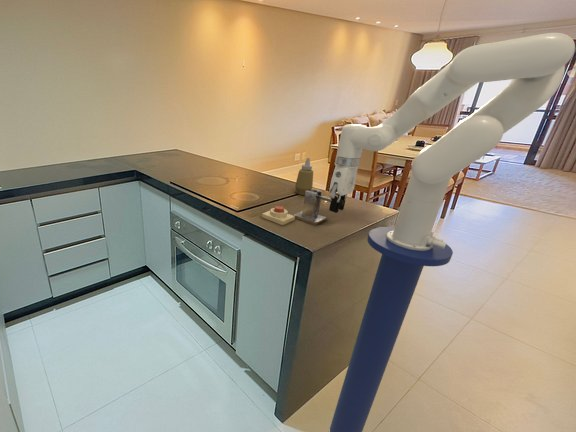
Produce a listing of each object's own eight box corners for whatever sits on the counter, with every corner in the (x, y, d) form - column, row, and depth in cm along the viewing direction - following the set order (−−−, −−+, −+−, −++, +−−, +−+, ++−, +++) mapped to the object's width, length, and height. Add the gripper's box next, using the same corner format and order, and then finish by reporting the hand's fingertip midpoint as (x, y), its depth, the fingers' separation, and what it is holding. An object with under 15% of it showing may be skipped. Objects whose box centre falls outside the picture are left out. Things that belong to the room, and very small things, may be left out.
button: (285, 211, 117) (285, 207, 117) (279, 214, 115) (280, 209, 115) (277, 209, 120) (278, 205, 119) (272, 211, 118) (272, 207, 117)
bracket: (326, 220, 118) (331, 192, 113) (315, 225, 113) (321, 196, 108) (303, 212, 125) (308, 186, 120) (292, 217, 120) (297, 189, 116)
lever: (344, 206, 108) (346, 198, 107) (339, 208, 107) (341, 200, 105) (311, 197, 118) (313, 189, 116) (307, 199, 116) (308, 191, 114)
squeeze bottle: (290, 192, 150) (295, 157, 142) (303, 190, 153) (308, 155, 145) (301, 197, 143) (307, 160, 136) (314, 195, 146) (321, 159, 139)
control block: (294, 220, 118) (295, 212, 116) (282, 225, 113) (283, 217, 112) (273, 212, 125) (274, 204, 123) (261, 217, 120) (262, 209, 119)
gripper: (346, 167, 95) (335, 219, 102) (368, 160, 104) (356, 208, 112) (324, 162, 100) (315, 212, 107) (347, 156, 110) (336, 202, 117)
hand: (336, 209), depth 109 cm, fingers closed on lever, 3 cm apart
